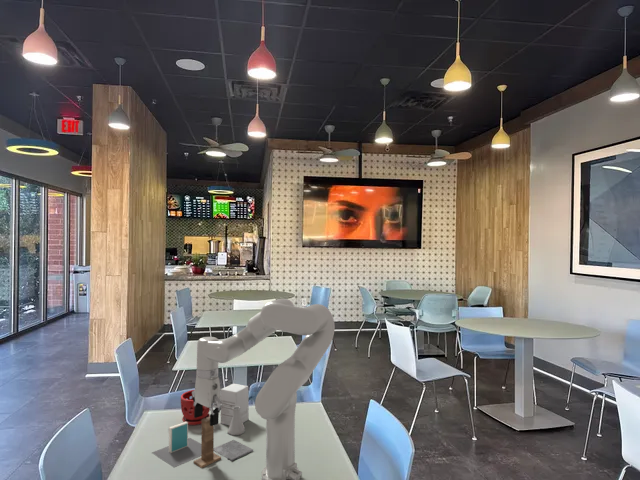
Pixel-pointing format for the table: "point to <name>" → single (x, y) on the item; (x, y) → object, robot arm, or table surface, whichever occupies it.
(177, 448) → the tile
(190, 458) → the mat
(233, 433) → the flask
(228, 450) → the plate
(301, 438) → the table surface
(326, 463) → the table surface
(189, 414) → the plant pot
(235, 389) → the supplement box
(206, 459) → the wooden post stand
